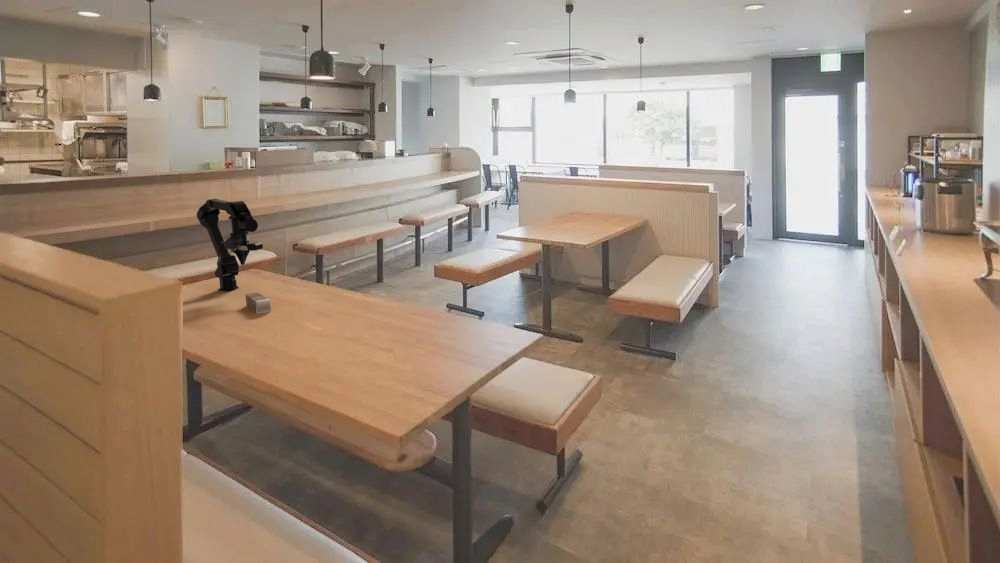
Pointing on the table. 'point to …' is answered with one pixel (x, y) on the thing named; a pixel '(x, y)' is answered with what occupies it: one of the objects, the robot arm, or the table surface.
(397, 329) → the table surface
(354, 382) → the table surface
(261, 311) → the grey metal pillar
